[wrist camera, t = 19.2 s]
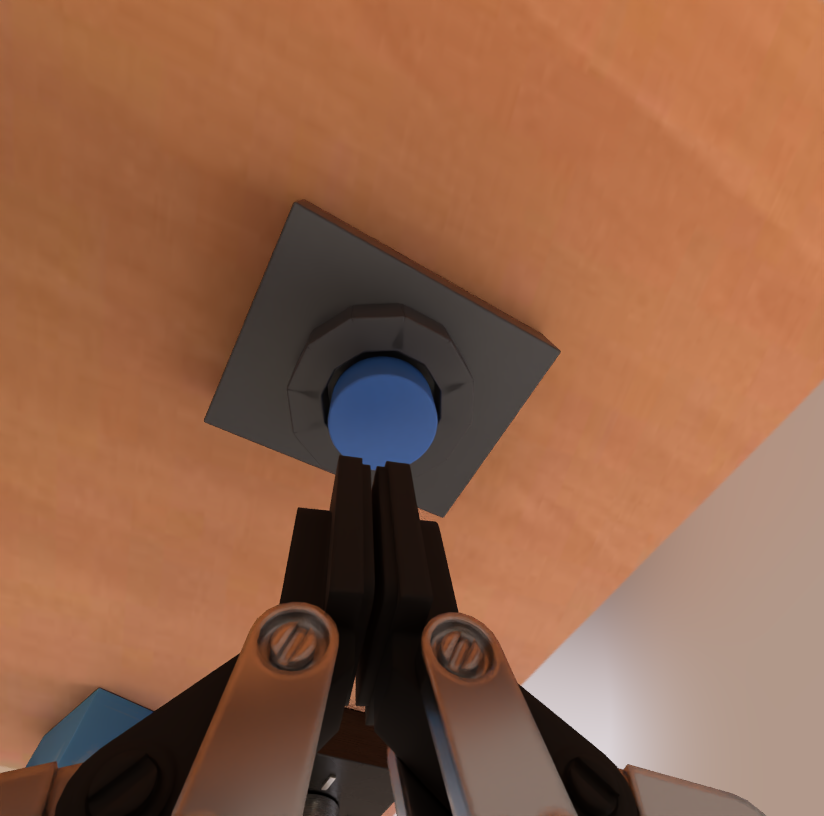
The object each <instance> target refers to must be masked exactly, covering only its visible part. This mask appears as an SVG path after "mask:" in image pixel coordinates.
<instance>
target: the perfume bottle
mask: <svg viewBox="0 0 824 816" xmlns="http://www.w3.org/2000/svg"><path fill="white" fill-rule="evenodd" d="M151 713H153V711H151V710H148V709H146V708H144V707H141V706H139V705H137V704H135V703H132V702H130V701H128V700H126V699H123V698H121V697H119V696H116V695H114V694H112V693H110V692H107V691H105V690H103V689H100V688H98V689H97V690H96V691H95V692H94V693H93V694H91V695H90V696H89V697H88V698H87V699H86V700H85V701H83V702H82V703H81V704H80V705H79V706H78V707H77V708H75V709H74V710H73V711H72V712H71V713H70V714H69V715H67V716H66V717H65V718H64V719H63V720H62V721H61V722H59V723H58V724H57V725H56V726H55V727H54V728H53V729H51V730H50V731H49V732H48V733H47V734H46V735H45V736H44V737H43V738H42V740H41V742H40V743H39V745H38V747H37V749H36V750H35V752H34V754H33V755H32V757H31V759H30V760H29V762H28V764H27V765H26V767H31V766H36V765H40V764H45V763H50V762H54V761H57V766H58V768H61V767H65V766H70V765H74V764H79V763H83V762H85V761H86V760H87V759H88V758H89V757H91V756H92V755H93V754H94V753H95V752H97V751H98V750H99V749H100V748H102V747H103V746H104V745H106V744H107V743H109V742H110V741H112V740H113V739H115V738H116V737H118V736H119V735H121V734H122V733H124V732H125V731H126V730H128V729H129V728H131V727H132V726H134V725H135V724H137V723H138V722H140V721H141V720H143V719H144V718H146V717H147V716H149V715H150V714H151ZM26 767H25V768H26Z"/></svg>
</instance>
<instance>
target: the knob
mask: <svg viewBox="0 0 824 816" xmlns="http://www.w3.org/2000/svg"><path fill="white" fill-rule="evenodd" d="M303 816H339V807H338V805H337V803H336V802H335V801H334V800H332V799H330V798H328V797H326V796H323V795H319V794H311V793H307V797H306V802H305V806H304V811H303Z"/></svg>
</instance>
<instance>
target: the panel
mask: <svg viewBox="0 0 824 816" xmlns="http://www.w3.org/2000/svg"><path fill="white" fill-rule="evenodd" d="M307 793H311V794H319V795H323V796H326V797H328V798H330V799H332V800H334V801H335V802H336V803H337V805H338V807H339V816H381V815H382V814H383V813H384V812H385V811H386V810H387V809H388V808H389V807H390V806H391V805H392V803H393V802H394V797H393V791H392V786H391V780H390V774H389V769H388V763H387V744H386V743H385V742H384V741H383V740H382V739H381V738H380V737H379V736H378V735H377V734H376V733H375V732H374V725H365V713H362V712H358V711H354V710H350V709H346V708H344V712H343V716H342V720H341V724H340V728H339V731H338V732H337V733H336V734H335V735H334V736H333V737H332V738H331V739H330V740H329V741H328V742H327V743H326V744H325V745H324V746H323V747H322V748H321V749H320V750H319V751H318V752H317V753H316V755H315V759H314V764H313V769H312V774H311V778H310V783H309V788H308V792H307Z"/></svg>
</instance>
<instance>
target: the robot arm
mask: <svg viewBox="0 0 824 816" xmlns="http://www.w3.org/2000/svg"><path fill="white" fill-rule="evenodd" d="M355 676H356V706H365V725H374V732H375V733H376V734H377V735H378V736H379V737H380V738H381V739H382V740H383V741H384V742H385V743H386V744H387V763H388V769H389V774H390V780H391V786H392V791H393V797H394V802H395V808H396V814H397V816H765V814H764V813H763V812H761V811H760V810H759V809H757V808H756V807H755V806H754V805H752V804H751V803H750V802H748V801H747V800H745V799H743V798H741V797H739V796H737V795H734V794H732V793H729V792H725V791H722V790H718V789H714V788H711V787H707V786H704V785H700V784H697V783H693V782H690V781H686V780H682V779H679V778H675V777H671V776H668V775H664V774H661V773H657V772H654V771H650V770H647V769H643V768H639V767H636V766H632V765H629V764H628V765H627V766H626V767H625V768H624V770H622V769H619V768H617V766H615V764H614V763H613V762H612V761H611V760H610V759H609V758H608V757H606V755H605V754H604V753H602V752H601V751H600V750H599V749H597V748H596V747H595V746H594V745H593V744H591V743H590V742H589V741H588V740H587V739H585V738H584V737H583V736H582V735H580V734H579V733H578V732H577V731H576V730H574V729H573V728H572V727H571V726H569V725H568V724H567V723H566V722H564V721H563V720H562V719H561V718H560V717H558V716H557V715H556V714H554V713H553V712H552V711H551V710H550V709H549V708H547V707H546V706H545V705H543V704H542V703H541V702H540V701H539V700H538V699H536V698H535V697H534V696H533V695H531V694H530V693H529V692H528V691H526V690H525V689H524V688H523V687H522V686H520V685H519V684H518V683H517V681H516V679H515V677H514V674H513V672H512V670H511V668H510V666H509V663H508V661H507V659H506V657H505V654H504V652H503V650H502V648H501V646H500V644H499V642H498V640H497V639H496V637H495V635H494V634H493V632H492V631H491V630H489V629H488V628H487V627H486V626H485V625H484V624H483V623H482V622H480V621H478V620H477V619H475V618H474V617H471V616H468V615H465V614H462V613H458V608H457V604H456V599H455V595H454V591H453V586H452V582H451V577H450V573H449V569H448V564H447V560H446V555H445V551H444V547H443V542H442V538H441V533H440V529H439V526H438V524H437V523H436V522H433V521H424V520H420V519H419V513H418V507H417V502H416V496H415V490H414V485H413V479H412V473H411V467H410V464H407V463H399V462H391V461H386V463H385V466H384V467H382V466H377V467H376V471H375V475H374V480H373V485H372V490H371V466H370V465H366V464H363V463H362V458H359V457H351V456H343V455H339V458H338V463H337V469H336V475H335V481H334V487H333V493H332V499H331V504H330V510H329V511H327V510H317V509H307V508H298V509H297V514H296V519H295V525H294V530H293V535H292V541H291V546H290V551H289V557H288V562H287V567H286V573H285V578H284V583H283V588H282V594H281V599H280V604H279V605H277V606H275V607H273V608H271V609H268V610H267V611H266V612H264V613H263V614H262V615H261V616H260V617H259V618H257V620H256V621H255V623H254V624H253V626H252V628H251V629H250V631H249V634H248V636H247V638H246V641H245V643H244V645H243V648H242V650H241V652H240V654H238V655H237V656H235V657H234V658H232V659H231V660H229V661H228V662H226V663H225V664H223V665H222V666H220V667H219V668H218V669H216V670H215V671H213V672H212V673H210V674H209V675H207V676H206V677H204V678H203V679H201V680H200V681H198V682H197V683H195V684H194V685H193V686H191V687H190V688H188V689H187V690H185V691H184V692H182V693H181V694H179V695H178V696H176V697H175V698H173V699H172V700H171V701H169V702H168V703H166V704H165V705H163V706H162V707H160V708H159V709H157V710H156V711H154V712H153V713H151V714H150V715H149V716H147V717H146V718H144V719H143V720H141V721H140V722H138V723H137V724H135V725H134V726H132V727H131V728H129V729H128V730H126V731H125V732H124V733H122V734H121V735H119V736H118V737H116V738H115V739H113V740H112V741H110V742H109V743H107V744H106V745H104V746H103V747H102V748H100V749H99V750H98V751H97V752H95V753H94V754H93V755H92V756H91V757H89V758H88V759H87V760H86V761H85V762H83V763H79V764H74V765H70V766H65V767H61V768H58V766H57V761H54V762H50V763H45V764H40V765H36V766H31V767H26V768H22V769H17V770H13V771H8V772H3V773H0V816H303V811H304V806H305V802H306V797H307V792H308V788H309V783H310V778H311V774H312V769H313V764H314V759H315V755H316V753H317V752H318V751H319V750H320V749H321V748H322V747H323V746H324V745H325V744H326V743H327V742H328V741H329V740H330V739H331V738H332V737H333V736H334V735H335V734H336V733H337V732H338V731H339V728H340V724H341V720H342V716H343V712H344V707H345V706H348V704H349V700H350V696H351V692H352V688H353V684H354V680H355Z"/></svg>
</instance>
